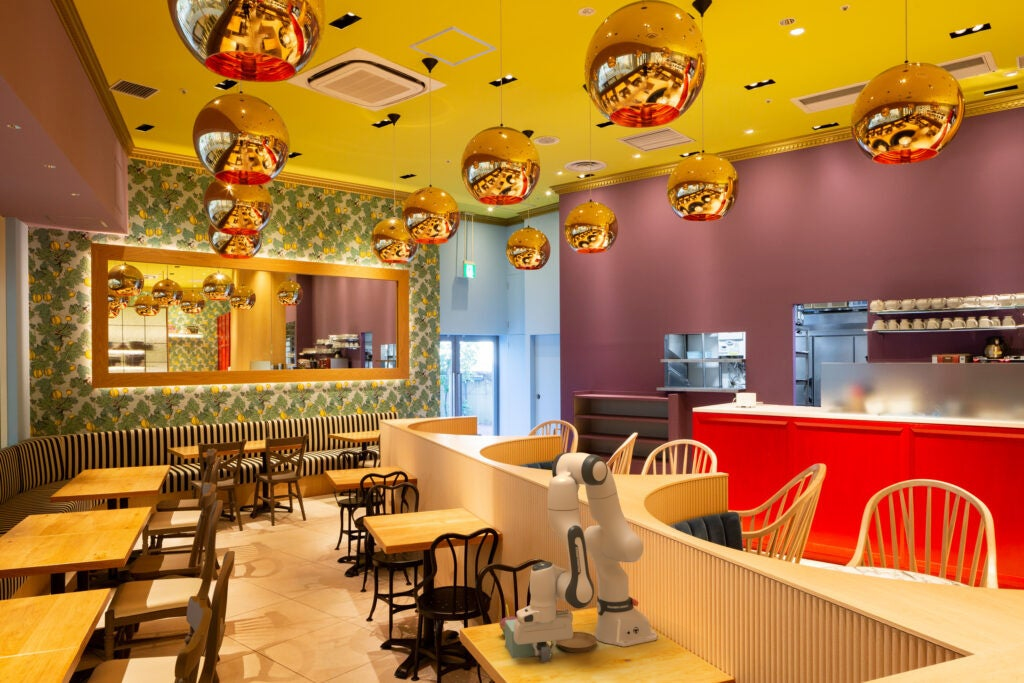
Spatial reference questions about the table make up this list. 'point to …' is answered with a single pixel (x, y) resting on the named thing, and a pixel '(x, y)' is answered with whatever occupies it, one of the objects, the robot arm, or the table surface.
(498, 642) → the table surface
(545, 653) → the block
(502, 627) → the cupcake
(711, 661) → the table surface
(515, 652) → the coin box
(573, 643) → the plant saucer
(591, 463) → the robot arm
